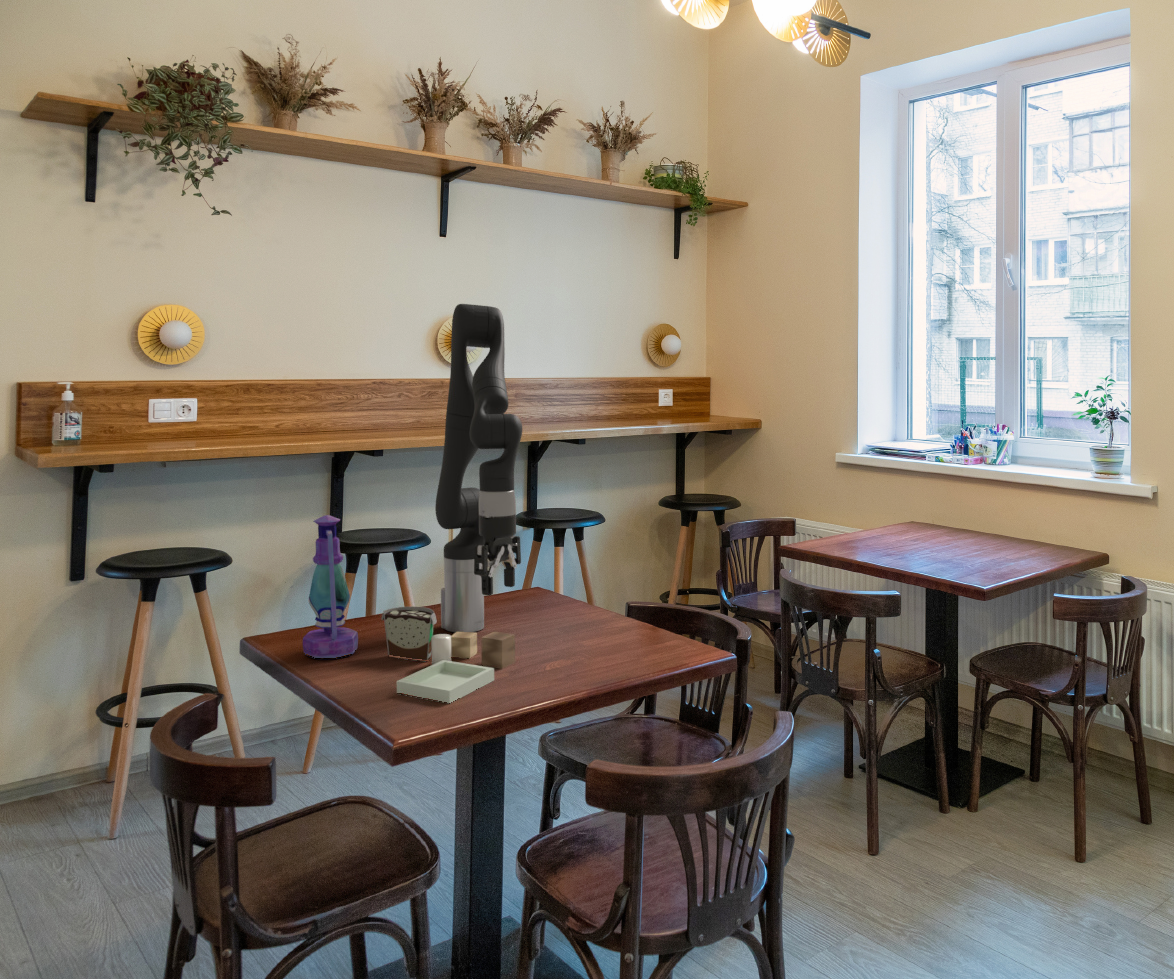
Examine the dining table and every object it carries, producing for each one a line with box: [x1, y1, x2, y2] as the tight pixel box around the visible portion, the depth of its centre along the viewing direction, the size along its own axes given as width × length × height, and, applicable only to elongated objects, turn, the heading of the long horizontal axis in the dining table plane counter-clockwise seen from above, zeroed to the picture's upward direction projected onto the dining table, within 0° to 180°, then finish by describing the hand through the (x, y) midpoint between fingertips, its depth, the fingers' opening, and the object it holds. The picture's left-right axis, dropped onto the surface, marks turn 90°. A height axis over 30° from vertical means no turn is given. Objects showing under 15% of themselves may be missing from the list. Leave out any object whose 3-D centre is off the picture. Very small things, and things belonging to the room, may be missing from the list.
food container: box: [380, 606, 437, 661], centre depth 201 cm, size 12×6×10 cm, turn 71°
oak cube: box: [451, 632, 478, 660], centre depth 202 cm, size 4×4×4 cm
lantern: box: [302, 514, 359, 659], centre depth 201 cm, size 13×12×30 cm
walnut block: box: [480, 631, 516, 670], centre depth 195 cm, size 5×5×6 cm
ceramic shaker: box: [431, 633, 452, 665], centre depth 194 cm, size 4×4×6 cm
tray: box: [396, 660, 495, 704], centre depth 181 cm, size 12×15×2 cm
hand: (498, 590), depth 194 cm, fingers open, 8 cm apart
